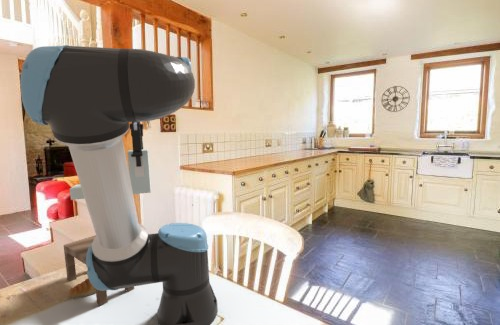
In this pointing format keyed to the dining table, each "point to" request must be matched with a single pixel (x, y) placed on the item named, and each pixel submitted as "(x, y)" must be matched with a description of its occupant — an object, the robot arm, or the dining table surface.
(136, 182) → the white stepped block
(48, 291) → the dining table surface
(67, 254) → the bench
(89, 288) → the pastry
